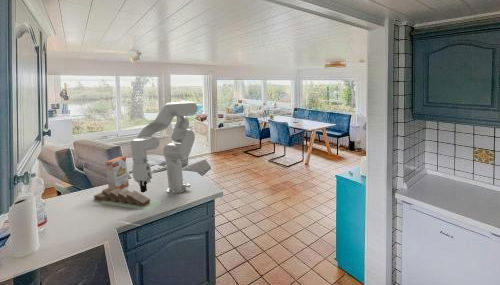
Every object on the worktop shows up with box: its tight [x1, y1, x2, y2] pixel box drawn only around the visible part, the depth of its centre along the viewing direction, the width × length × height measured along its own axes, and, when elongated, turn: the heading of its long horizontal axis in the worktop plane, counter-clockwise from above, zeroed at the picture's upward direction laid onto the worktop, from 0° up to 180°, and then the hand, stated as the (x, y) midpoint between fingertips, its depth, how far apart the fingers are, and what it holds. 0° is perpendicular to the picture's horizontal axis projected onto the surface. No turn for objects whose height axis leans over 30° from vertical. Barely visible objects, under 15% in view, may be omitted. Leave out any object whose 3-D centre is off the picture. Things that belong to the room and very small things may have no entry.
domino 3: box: [110, 188, 128, 204], centre depth 168 cm, size 2×6×12 cm
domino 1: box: [93, 191, 111, 202], centre depth 173 cm, size 2×6×12 cm
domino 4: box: [118, 188, 137, 205], centre depth 165 cm, size 2×6×12 cm
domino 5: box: [126, 189, 151, 207], centre depth 163 cm, size 2×6×12 cm
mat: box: [99, 199, 164, 212], centre depth 166 cm, size 38×12×1 cm, turn 68°
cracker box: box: [105, 156, 130, 190], centre depth 190 cm, size 14×6×21 cm, turn 168°
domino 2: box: [101, 187, 119, 202], centre depth 170 cm, size 2×6×12 cm
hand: (143, 191), depth 160 cm, fingers closed
